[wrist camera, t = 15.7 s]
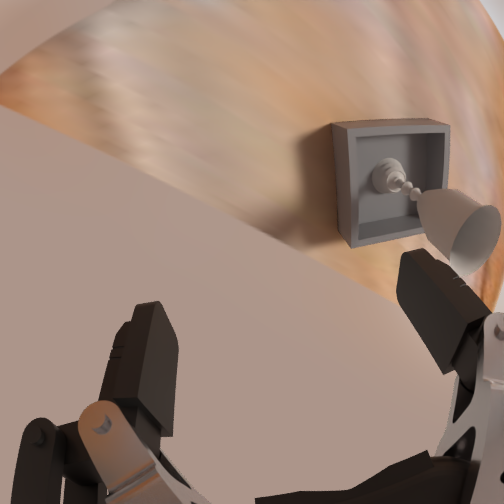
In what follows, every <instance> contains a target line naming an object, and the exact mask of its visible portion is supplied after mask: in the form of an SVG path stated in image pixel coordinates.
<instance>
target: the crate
mask: <svg viewBox="0 0 504 504" xmlns="http://www.w3.org/2000/svg"><path fill="white" fill-rule="evenodd" d="M331 126H332V136H333V148H334V160H335V175H336V192H337V215H338V231H339V233H340V234H341V235H342V237H343V238H344V239H345V241H346V242H347V244H348V245H349V246H350V248H356V247H361V246H366V245H371V244H375V243H380V242H385V241H390V240H394V239H399V238H404V237H408V236H413V235H417V234H422V233H425V232H424V229H423V227H422V224H421V222H420V218H419V214H418V210H417V201H416V200H415V201H412V200H411V199H410V195H403V194H402V192H401V190H400V191H399V192H397V193H385V194H384V193H381V192H379V191H377V190H376V189H375V187H374V185H373V182H372V173H373V170H374V168H375V166H376V165H377V163H379V162H380V161H381V160H383V159H385V158H393V159H396V160H397V161H398V162H399V163H400V164H401V166H402V168H403V170H404V172H405V174H406V182H408V181H409V182H411V183H412V186H413V188H419V189H420V192H421V193H423V192H425V191H427V190H434V189H447V186H448V174H449V157H450V125H448V124H445V123H441V122H438V121H435V120H431V119H379V120H361V121H347V122H335V123H331Z"/></svg>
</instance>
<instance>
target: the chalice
mask: <svg viewBox="0 0 504 504" xmlns="http://www.w3.org/2000/svg"><path fill="white" fill-rule="evenodd" d="M372 182H373V185H374V187H375V189H376V190H377V191H379V192H381V193H384V194H385V193H397V192H399V191H400V190H401V192H402V194H403V195H410V199H411V200H412V201H415V200H416V201H417V210H418V214H419V218H420V222H421V224H422V227H423V229H424V232H425V234H426V236H427V239H428V240H429V241H430V242H431V243H432V244H433V245H434V246H435V247H436V248H437V249H438V250H439V251H440V252H441V253H442V254H443V255H444V256H445V257H446V258H447V259H448V260H449V263H450V267H451V268H452V269H453V270H454V271H455V272H456V273H457V274H458V275H459V276H462V277H463V276H466V275H470V274H471V273H473V272H475V271H476V270H478V269H479V268H480V267H481V266H482V265H483V264H484V263H485V262H486V261H487V259H488V258H489V256H490V255H491V254H492V252H493V250H494V248H495V246H496V244H497V241H498V238H499V235H500V230H501V216H500V213H499V211H498V210H497V208H495V207H494V206H492V205H481V204H480V203H478V202H477V201H475V200H474V199H472V198H471V197H469V196H468V195H466V194H464V193H463V192H461V191H459V190H456V189H434V190H427V191H425V192H423V193H421V192H420V189H419V188H413V186H412V183H411V182H409V181H408V182H406V174H405V172H404V170H403V168H402V166H401V164H400V163H399V162H398V161H397V160H396V159H393V158H385V159H383V160H381V161H380V162H379V163H377V165H376V166H375V168H374V170H373V173H372Z"/></svg>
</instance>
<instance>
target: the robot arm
mask: <svg viewBox="0 0 504 504" xmlns="http://www.w3.org/2000/svg"><path fill="white" fill-rule="evenodd" d="M396 294H397V299H398V302H399V304H400V306H401V308H402V309H403V311H404V312H405V314H406V315H407V317H408V318H409V320H410V321H411V323H412V324H413V326H414V328H415V329H416V331H417V332H418V334H419V335H420V337H421V339H422V340H423V342H424V343H425V345H426V347H427V348H428V350H429V351H430V353H431V355H432V357H433V358H434V360H435V362H436V363H437V365H438V367H439V368H440V370H441V371H442V373H443V375H444V374H447V373H449V372H451V371H453V370H455V371H456V372H457V374H458V375H457V376H456V379H455V384H454V390H453V396H452V402H451V408H450V413H449V418H448V423H447V427H446V430H445V432H444V435H443V437H442V438H441V440H440V442H439V445H438V447H437V450H436V453H435V456H434V457H430V456H429V453H428V451H427V450H426V451H424V452H422V453H419V454H417V455H415V456H412V457H410V458H408V459H405V460H403V461H400V462H398V463H395V464H393V465H390V466H388V467H387V468H385V469H384V470H382V471H381V472H379V473H377V474H376V475H374V476H373V477H371V478H369V479H368V480H366V481H364V482H363V483H361V484H359V485H357V486H356V487H354V488H352V489H349V490H341V491H298V492H293V493H287V494H281V495H275V496H268V497H260V498H255V504H504V313H500V312H498V313H492V312H491V311H490V310H489V309H488V308H487V306H486V305H485V304H484V303H483V302H482V301H481V299H480V298H479V297H478V296H477V295H476V294H475V293H474V292H473V290H472V289H471V288H470V287H469V286H468V285H467V286H466V283H465V282H464V281H463V279H462V278H459V275H458V274H457V273H456V272H455V271H454V270H453V269H452V268H451V267H450V266H449V265H447V264H445V263H443V262H441V261H440V260H438V259H437V260H435V259H434V258H433V257H432V256H431V255H430V253H429V252H428V251H427V250H425V249H424V248H421V249H416V250H412V251H408V252H404V253H403V254H402V256H401V260H400V268H399V275H398V281H397V288H396ZM112 347H113V349H112V350H111V353H110V357H109V358H110V360H109V361H108V364H107V368H106V372H105V375H104V379H103V383H102V388H101V392H100V395H99V399H98V401H97V402H94V403H92V404H90V405H89V406H88V407H87V408H86V409H85V410H84V411H83V412H82V414H81V416H80V418H79V420H78V421H75V422H71V423H68V424H64V425H60V426H56V425H54V424H53V423H52V422H51V421H50V420H48V419H46V418H36V419H34V420H33V421H31V422H30V423H29V424H28V425H27V427H26V428H25V430H24V432H23V435H22V439H21V444H20V449H19V453H18V458H17V463H16V469H15V475H14V481H13V488H12V497H11V504H60V496H61V485H62V476H63V477H64V478H65V489H64V500H63V504H211V503H210V502H209V501H208V500H207V499H206V498H204V497H203V496H202V495H201V494H200V493H199V492H197V490H196V489H194V487H193V486H192V485H191V484H190V483H189V482H188V481H187V479H186V478H185V477H184V476H183V475H182V474H181V473H180V471H179V470H178V469H177V468H176V466H175V465H174V464H173V463H172V462H171V460H170V459H169V458H168V457H167V455H166V454H165V453H164V452H163V450H162V449H161V448H160V439H161V437H172V436H173V421H174V419H173V418H174V403H175V388H176V375H177V363H178V352H179V349H178V341H177V337H176V334H175V332H174V330H173V327H172V325H171V323H170V321H169V319H168V317H167V315H166V312H165V311H164V308H163V306H162V304H161V303H160V302H159V301H155V302H149V303H143V304H137V305H136V306H135V309H134V312H133V316H132V319H131V321H129V322H125V323H124V324H123V326H122V327H121V328H120V330H119V331H118V332H117V334H116V336H115V340H114V343H113V346H112ZM107 489H108V492H109V494H108V495H107Z"/></svg>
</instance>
